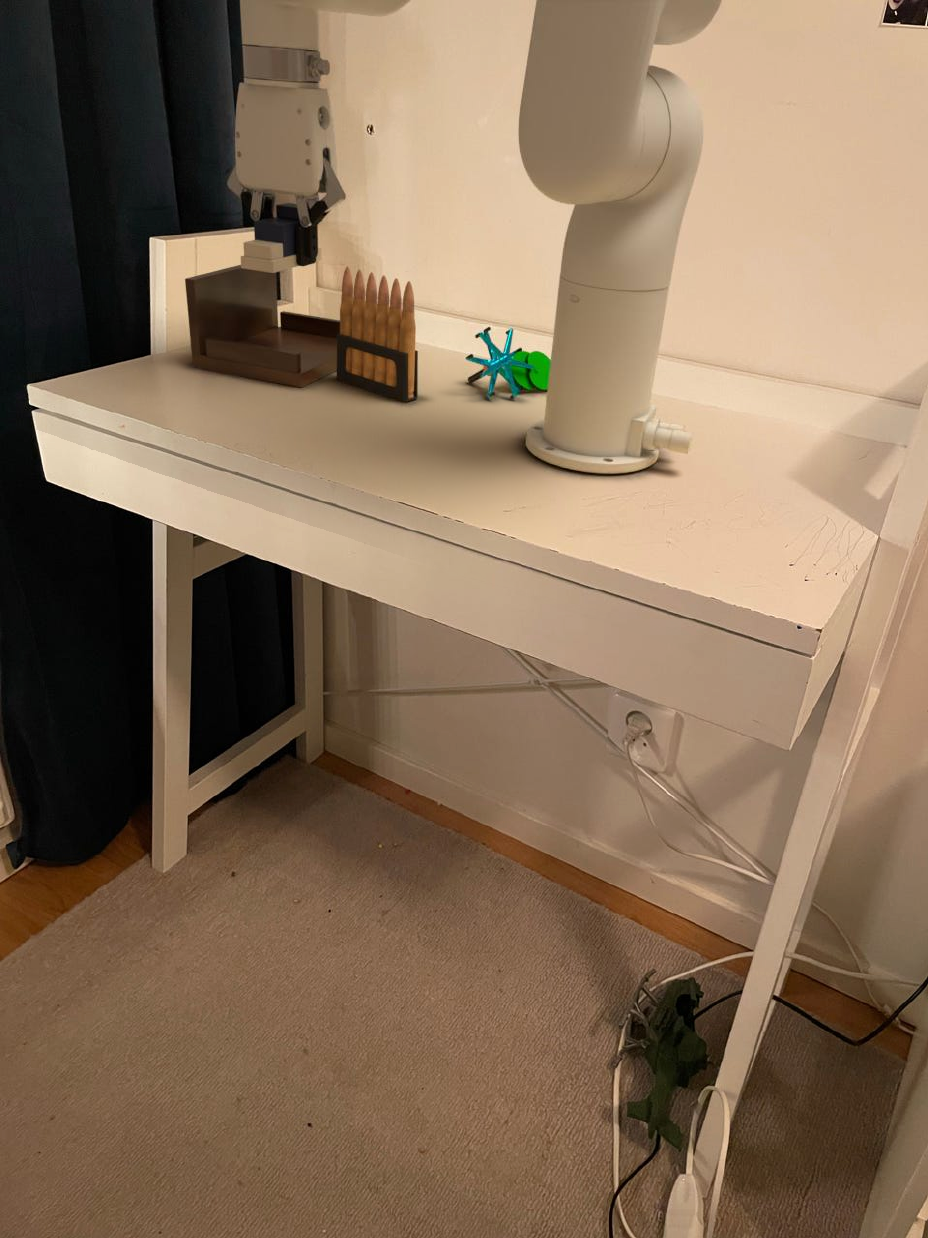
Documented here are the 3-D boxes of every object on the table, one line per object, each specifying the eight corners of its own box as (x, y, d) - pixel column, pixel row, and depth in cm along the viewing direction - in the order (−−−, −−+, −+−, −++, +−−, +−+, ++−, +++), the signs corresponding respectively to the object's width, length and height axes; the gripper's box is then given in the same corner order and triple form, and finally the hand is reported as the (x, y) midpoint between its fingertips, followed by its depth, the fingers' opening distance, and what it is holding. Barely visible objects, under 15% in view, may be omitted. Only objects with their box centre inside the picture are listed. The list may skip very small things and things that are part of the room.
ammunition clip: (418, 399, 99) (422, 281, 93) (406, 402, 98) (409, 283, 92) (347, 376, 105) (347, 264, 99) (335, 379, 103) (334, 265, 97)
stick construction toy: (482, 385, 97) (477, 314, 98) (443, 407, 102) (438, 340, 103) (566, 404, 104) (560, 338, 105) (525, 423, 109) (520, 360, 110)
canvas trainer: (290, 254, 107) (289, 201, 104) (321, 259, 105) (320, 205, 102) (240, 268, 98) (237, 210, 96) (273, 273, 97) (271, 215, 94)
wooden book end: (270, 337, 117) (266, 257, 112) (369, 354, 113) (370, 272, 108) (192, 366, 104) (184, 278, 99) (301, 387, 100) (298, 296, 95)
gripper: (373, 76, 94) (371, 266, 103) (232, 64, 99) (242, 247, 108) (336, 74, 88) (338, 277, 97) (189, 62, 93) (203, 256, 102)
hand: (287, 259), depth 103 cm, fingers closed on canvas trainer, 4 cm apart
